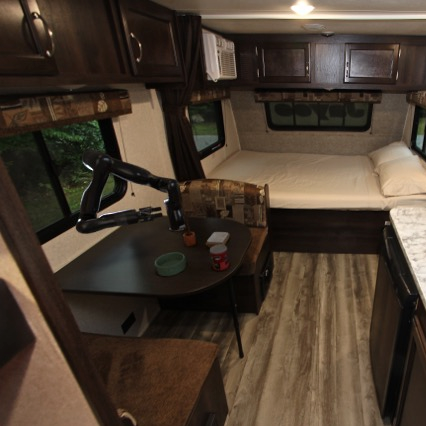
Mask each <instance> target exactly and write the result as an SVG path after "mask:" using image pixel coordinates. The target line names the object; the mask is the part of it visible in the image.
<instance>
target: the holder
mask: <svg viewBox="0 0 426 426" xmlns="http://www.w3.org/2000/svg"><path fill="white" fill-rule="evenodd" d="M190 232H191V236H187V232H184V233H183V240H184V244H185V245H184V246H187V247H190V246H194V245H196V244H197V238H196V233H195V232H194V231H190Z"/></svg>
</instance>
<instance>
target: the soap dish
mask: <svg viewBox="0 0 426 426" xmlns="http://www.w3.org/2000/svg"><path fill="white" fill-rule="evenodd" d="M229 239H230V233H229V232H225V231H214V232H212V234H211V235H210V236H209V237H208V239H207V240H206V243H205V245H206V247H207V248H209V249H210V248H211V247H213V246H215V245H225V246H226V244H227V242H228V241H229Z"/></svg>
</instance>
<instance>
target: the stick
mask: <svg viewBox="0 0 426 426" xmlns="http://www.w3.org/2000/svg"><path fill="white" fill-rule="evenodd" d="M183 217H184V222H185V227H186V228H185V231H186V232H187V236H191V232H192V231H191V228H190V223H189V217H188V214H187V213H184V215H183ZM186 232H185V233H186Z"/></svg>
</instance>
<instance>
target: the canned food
mask: <svg viewBox="0 0 426 426" xmlns="http://www.w3.org/2000/svg"><path fill="white" fill-rule="evenodd" d="M209 254H210V260H211V265H212V269H213V271H219V272H221V271H225V270H226V269H228V268H229V266H230V262H229V254H228V247H227V245H226V244H225V245H215V246H213V247H211V248H209Z"/></svg>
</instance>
